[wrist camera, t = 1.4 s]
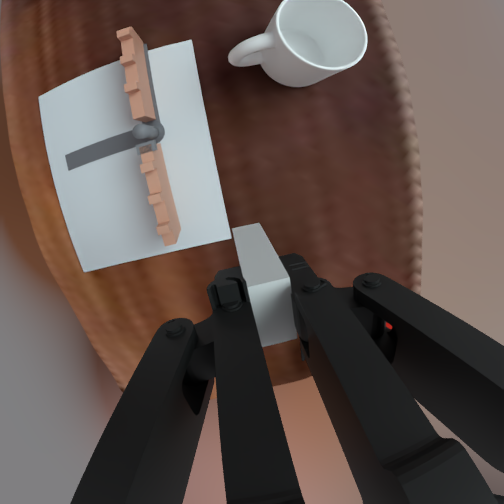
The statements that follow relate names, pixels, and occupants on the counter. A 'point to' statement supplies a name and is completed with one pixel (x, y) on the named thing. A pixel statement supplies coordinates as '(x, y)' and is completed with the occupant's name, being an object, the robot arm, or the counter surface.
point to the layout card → (132, 160)
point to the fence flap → (159, 191)
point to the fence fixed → (137, 83)
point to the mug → (305, 42)
